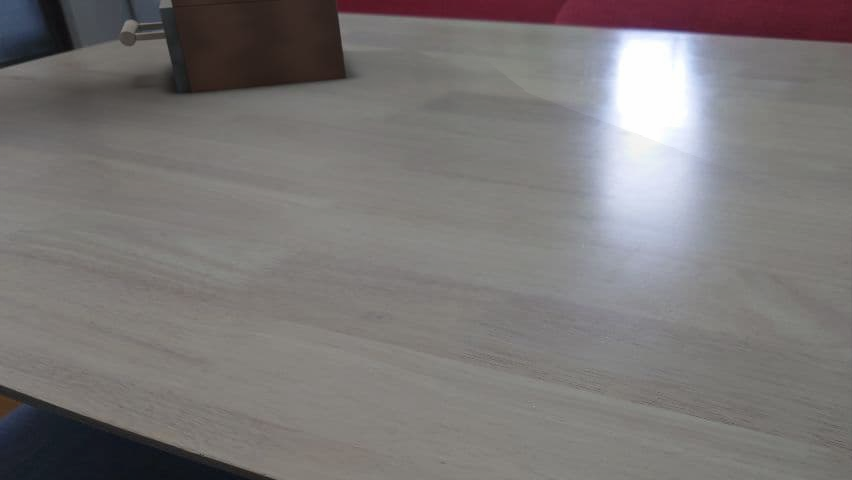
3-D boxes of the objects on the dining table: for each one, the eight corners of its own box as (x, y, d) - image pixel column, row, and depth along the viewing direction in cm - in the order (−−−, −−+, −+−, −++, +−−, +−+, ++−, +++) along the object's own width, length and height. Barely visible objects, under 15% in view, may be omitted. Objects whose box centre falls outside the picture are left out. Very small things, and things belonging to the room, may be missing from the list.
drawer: (130, 98, 77) (108, 11, 73) (138, 70, 86) (118, -8, 82) (322, 80, 82) (310, -2, 78) (310, 55, 91) (299, -19, 87)
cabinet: (193, 103, 78) (170, -3, 74) (194, 72, 89) (174, -22, 84) (347, 88, 83) (334, -13, 78) (331, 60, 93) (319, -30, 88)
